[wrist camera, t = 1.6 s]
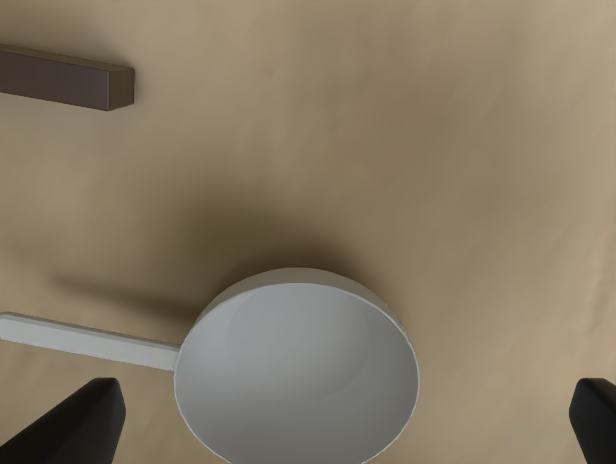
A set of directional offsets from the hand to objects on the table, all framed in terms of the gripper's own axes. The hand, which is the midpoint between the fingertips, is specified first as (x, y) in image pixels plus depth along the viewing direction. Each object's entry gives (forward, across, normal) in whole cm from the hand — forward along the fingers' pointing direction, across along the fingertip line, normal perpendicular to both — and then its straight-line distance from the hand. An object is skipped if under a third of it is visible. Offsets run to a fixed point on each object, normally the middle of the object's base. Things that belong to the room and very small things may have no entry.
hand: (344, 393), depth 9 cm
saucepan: (+12, +5, +7) cm, 14 cm away
